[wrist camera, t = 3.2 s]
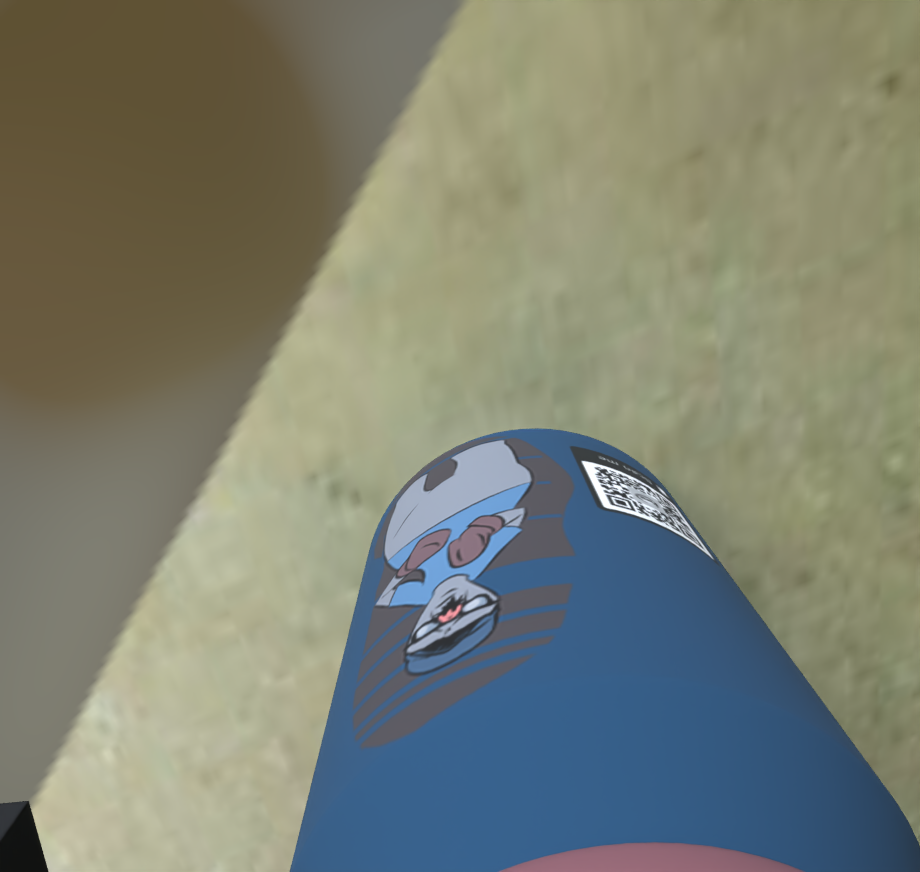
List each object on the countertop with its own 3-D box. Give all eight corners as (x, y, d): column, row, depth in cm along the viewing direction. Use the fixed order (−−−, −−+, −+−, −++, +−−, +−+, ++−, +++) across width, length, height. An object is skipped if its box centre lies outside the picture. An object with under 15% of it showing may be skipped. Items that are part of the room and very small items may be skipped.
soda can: (583, 741, 20) (762, 1492, 8) (320, 622, 19) (107, 1275, 7) (739, 499, 18) (1235, 1013, 7) (459, 356, 17) (467, 661, 6)
